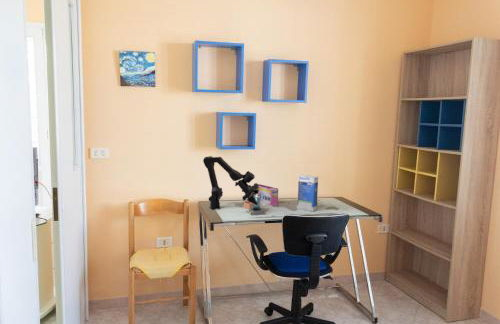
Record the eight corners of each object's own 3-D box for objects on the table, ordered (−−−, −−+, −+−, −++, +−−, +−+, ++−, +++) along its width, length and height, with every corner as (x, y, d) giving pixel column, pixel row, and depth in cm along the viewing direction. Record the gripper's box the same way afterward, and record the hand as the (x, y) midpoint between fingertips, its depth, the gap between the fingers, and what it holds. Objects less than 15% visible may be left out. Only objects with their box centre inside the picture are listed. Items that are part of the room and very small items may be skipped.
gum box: (250, 201, 323) (251, 184, 321) (257, 199, 328) (258, 183, 326) (270, 206, 305) (271, 189, 303) (278, 205, 310) (278, 188, 309)
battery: (254, 212, 279) (255, 194, 277) (252, 210, 283) (252, 193, 281) (260, 212, 280) (261, 194, 279) (258, 210, 285) (258, 193, 283)
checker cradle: (251, 216, 275) (252, 212, 274) (246, 212, 285) (246, 208, 285) (266, 215, 279) (266, 210, 278) (260, 211, 289) (260, 207, 289)
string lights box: (317, 209, 300) (318, 176, 296) (312, 211, 294) (314, 177, 290) (301, 207, 307) (302, 174, 304) (296, 208, 301) (298, 175, 297)
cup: (246, 210, 292) (246, 203, 291) (242, 207, 299) (242, 201, 299) (256, 209, 295) (256, 203, 294) (252, 207, 302) (252, 200, 302)
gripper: (246, 181, 272) (261, 199, 269) (257, 178, 289) (270, 194, 286) (236, 191, 276) (250, 209, 273) (247, 187, 293) (260, 203, 290)
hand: (258, 203), depth 280 cm, fingers closed on battery, 4 cm apart
